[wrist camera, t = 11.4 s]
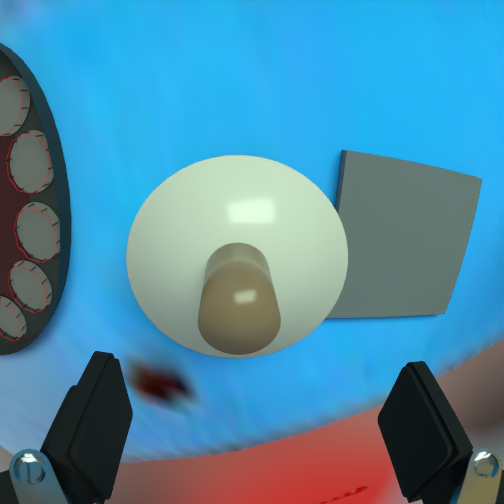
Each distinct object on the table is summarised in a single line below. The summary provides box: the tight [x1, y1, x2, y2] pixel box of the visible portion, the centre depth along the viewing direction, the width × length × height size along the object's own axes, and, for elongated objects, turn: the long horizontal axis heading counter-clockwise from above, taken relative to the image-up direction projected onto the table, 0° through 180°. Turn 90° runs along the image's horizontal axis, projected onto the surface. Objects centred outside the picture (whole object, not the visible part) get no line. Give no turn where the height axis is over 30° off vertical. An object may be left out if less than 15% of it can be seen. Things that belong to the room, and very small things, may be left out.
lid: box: [126, 155, 348, 358], centre depth 16 cm, size 13×13×6 cm
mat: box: [326, 150, 482, 318], centre depth 25 cm, size 14×14×1 cm
